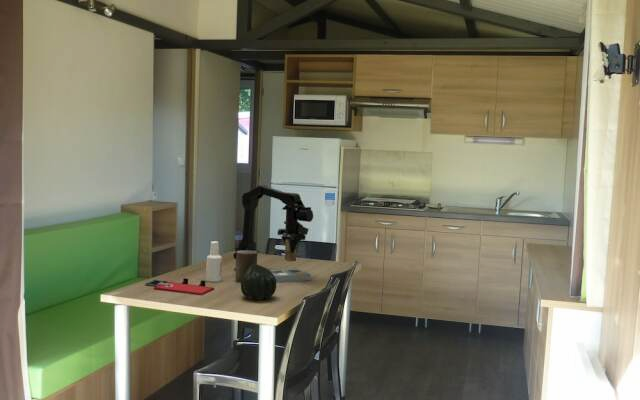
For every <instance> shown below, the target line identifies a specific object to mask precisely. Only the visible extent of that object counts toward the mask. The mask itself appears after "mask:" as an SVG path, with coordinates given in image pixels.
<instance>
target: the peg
mask: <svg viewBox="0 0 640 400" xmlns="http://www.w3.org/2000/svg"><path fill="white" fill-rule="evenodd" d="M284 261H287V262H296V261H297V245H296V248H295V251H294V253H291V250H290V246H289V242H288V239H286V240H285V244H284Z"/></svg>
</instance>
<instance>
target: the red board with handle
mask: <svg viewBox="0 0 640 400" xmlns="http://www.w3.org/2000/svg"><path fill="white" fill-rule="evenodd" d="M145 285H148V286H149V285H150V286H154V287H153V290H154V291H155V290H156V291H163V292H171V293H180V294H189V295H196V296H203V295H206V294H208V293H210V292H213V291H214V290H215V287H211V286H206V280H200V283H199V284H198V285H197V284H190V283H189V278H182V282H181V283H180V282H173V281H168V280H159V279H154V280H151V281H148V282H146V283H145Z"/></svg>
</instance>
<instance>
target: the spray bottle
mask: <svg viewBox="0 0 640 400" xmlns="http://www.w3.org/2000/svg"><path fill="white" fill-rule="evenodd" d="M209 249H210V250H209V255H207V256H206V265H205V266H206V267H205V270H206V271H205V282H209V283H210V282H211V283H217V282H221V281H222V266H223V265H222V263H223V262H222V260H223V257H222V256H221V255H220V246H219V241H215V240H213V241H212V240H211V242H210V247H209Z"/></svg>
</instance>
